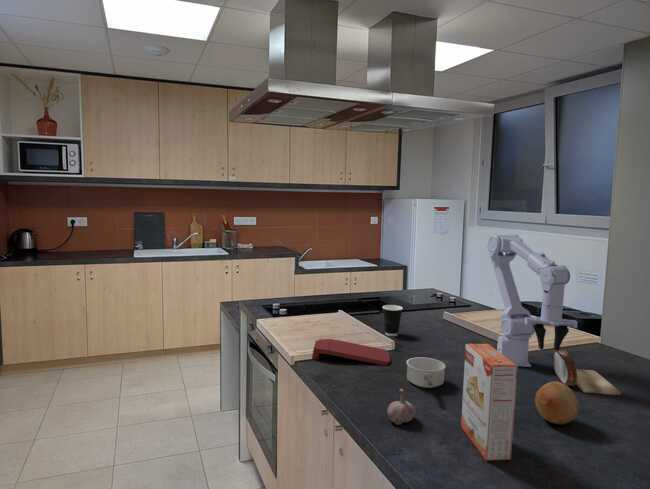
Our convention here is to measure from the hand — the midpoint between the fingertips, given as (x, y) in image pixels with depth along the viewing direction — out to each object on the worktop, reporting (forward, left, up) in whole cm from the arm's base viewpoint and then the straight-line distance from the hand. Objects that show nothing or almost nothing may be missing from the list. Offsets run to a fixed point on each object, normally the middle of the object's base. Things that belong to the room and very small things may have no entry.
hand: (548, 349), depth 141 cm
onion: (-7, -29, -10) cm, 31 cm away
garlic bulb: (-45, -35, -10) cm, 58 cm away
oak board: (+13, 0, -9) cm, 16 cm away
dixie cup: (-46, +36, -10) cm, 60 cm away
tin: (+5, 0, -10) cm, 11 cm away
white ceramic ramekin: (-37, -14, -10) cm, 41 cm away
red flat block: (-61, +7, -10) cm, 62 cm away
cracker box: (-27, -43, -10) cm, 52 cm away
